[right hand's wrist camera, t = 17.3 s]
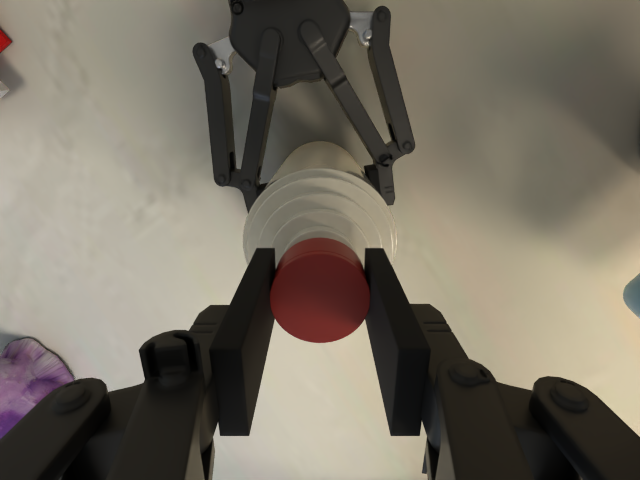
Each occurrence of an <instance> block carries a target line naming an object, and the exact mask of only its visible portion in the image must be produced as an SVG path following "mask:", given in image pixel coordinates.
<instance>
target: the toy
mask: <svg viewBox="0 0 640 480" xmlns="http://www.w3.org/2000/svg"><path fill="white" fill-rule="evenodd" d="M11 42H12V41H11V40H10V39H9V38H8V37H7V36H6V35H5V34H4V33H3V32H2V31H1V30H0V52H1V51H3V50H4V49H5V48H6V47H7V46H8V45H9V44H10V43H11ZM9 91H10V90H9V89H8V88H7V86H6V85H5V84H4V83H3V82H2V81H1V80H0V98H1V97H3V96H4V95H5V94H6V93H7V92H9Z"/></svg>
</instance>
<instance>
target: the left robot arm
mask: <svg viewBox="0 0 640 480" xmlns="http://www.w3.org/2000/svg"><path fill="white" fill-rule="evenodd" d="M228 1H229V6H230V10H231V26H230V30H229V36H228V37H226V38H223V39H221V40H218V41H216V42H214V43H211V44H209V45H206V44H204V43H197V44H196V45H195V46H194V47H193V56H194V58H195V60H196V63H197V65H198V67H199V70H200V72H201V74H202V77H203V79H204V82H205V92H206V102H207V112H208V123H209V133H210V143H211V153H212V163H213V173H214V180H215V182H216V184H217V185H219V186H231V187H236V188H238V189H240V190H241V191H242V193H243V195H244V199H245V203H246V207H247V211H248V214H249V211H250V209H251V207H252V206H253V204H254V202H255V201H256V199H257V198H258V197H259V195H260V194H261V192H262V191H263V190H264V188H265V187H266V186H267V184H268V183H264V184H261V185H260V183H259V181H260V179H261V178H260V174H261V169H262V163H263V158H264V153H265V148H266V142H267V137H268V132H269V127H270V121H271V116H272V111H273V106H274V102H275V99H276V94H277V89H278V87H279V88H286V87H291V86H293V85H294V84H296V83H298V82H308V83H312V82H317V81H320V80H321V79H324V81H325V82H326V84H327V86H328V87H329V89H330V90H331V92H332V93H333V95H334V96H335V98H336V100H337V101H338V103H339V105H340V106H341V108H342V110H343V111H344V113H345V114H346V116H347V118H348V119H349V121H350V123H351V124H352V126H353V128H354V129H355V131H356V133H357V134H358V136H359V138H360V139H361V141H362V142H363V144H364V146H365V147H366V149H367V151H368V152H369V154H370V156H371V157H372V159H373V164H372V165H367V166H364V169H365V175H366V176H367V178H368V179H369V180H370V182H371V183H372V184H373V186H374V187H375V188H376V190H377V191H378V193H379V194H380V195H381V197H382V198H383V199H384V201H385V202H386V204H387V206H388V205H393V203H394V200H395V193H394V183H393V174H392V165H393V163H394V161H395V160H396V159H398V158H400V157H401V156H403V155H405V154H409V153H411V152H412V151H413V150H414V148H415V142H414V138H413V134H412V130H411V126H410V123H409V119H408V115H407V111H406V107H405V104H404V100H403V96H402V92H401V88H400V85H399V81H398V77H397V73H396V69H395V66H394V62H393V58H392V54H391V50H390V47H389V38H390V21H391V14H390V11H389V9H388V8H387V7H385V6H380V7H378V8H376V9H375V11H374V12H350V11H349V9H348V7H347V5H346V4H345V3H344V1H343V0H228ZM348 31H351V32H353V33H355V34H356V36H357V40H358V43H359V45H360V46H361V47H363V48H367V52H368V59H369V63H370V67H371V71H372V74H373V78H374V81H375V85H376V88H377V92H378V95H379V99H380V102H381V106H382V109H383V113H384V116H385V120H386V123H387V127H388V130H389V134H390V137H391V141H390V142H388V143H387V144H385V143H384V141H383V140H382V138H381V136H380V135H379V133H378V131H377V130H376V128H375V126H374V124H373V123H372V121H371V119H370V118H369V116H368V114H367V112H366V111H365V109H364V107H363V106H362V104H361V102H360V101H359V99H358V97H357V95H356V94H355V92H354V90H353V89H352V87H351V85H350V83H349V82H348V80H347V78H346V75H345V73H344V72H343V70H342V68H341V67H340V65H339V63H338V61H337V60H336V57H337V55H338V52H339V50H340V48H341V46H342V43H343V41H344V39H345V37H346V34H347V32H348ZM237 53H238V54H239V55H240V56H241V57H242V58H243V59H244V60H245V61H246V62H247V63H248V64H249V65H250V66H251V67H252V68H253V69H254V70H255V71H256V76H255V82H254V88H253V102H252V108H251V114H250V120H249V126H248V131H247V137H246V143H245V149H244V155H243V161H242V167H241V169H236V158H235V145H234V131H233V118H232V105H231V92H230V84H229V80H228V76H227V75H229V74H230V73H231V72H232V69H233V65H232V59H233V56H234V55H235V54H237ZM623 299H624V302H625V303H626V305H627V306H628V308H629V309H630V310H631V311H632V312H633V313H634V314H636V315H637V316H638V317H639V318H640V274H638V275H637V276H636V277H635V278H634V279H633V280H632V281H630V282H629V283H628V284H627V285H626V287H625V288H624V292H623Z"/></svg>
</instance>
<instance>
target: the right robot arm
mask: <svg viewBox="0 0 640 480" xmlns="http://www.w3.org/2000/svg"><path fill="white" fill-rule="evenodd" d="M275 271H276V263H275V248H256V250H255V252H254V254H253V256H252V259H251V261H250V263H249V265H248V267H247V269H246V271H245V273H244V276H243V278H242V280H241V282H240V284H239V286H238V288H237V290H236V293H235V295H234V297H233V299H232V301H231V303H230V305H210V306H209V307H207V308H206V309H205V310H203V311H202V312H201V313H199V315H198V316H197V318H196V320H195V321H194V323H193V325H192V326H191V328H190V330H189V331H187V330H173V331H168V332H164V333H161V334H159V335H156V336H154V337H152V338H151V339H149V340H148V341H146V342H145V343H144V344H143V345H142V347H141V348H140V349H139V353H140V358H141V363H142V367H143V372H144V377H145V381H144V383H142V384H139V385H136V386H132V387H128V388H124V389H119V390H115V391H111V392H108V390H107V386H106V384H105V383H104V382H103V381H102V380H100V379H95V378H84V379H78V380H75V381H72V382H69V383H66V384H64V385H62V386H60V387H58V388H56V389H54V390H53V391H52V392H50V393H49V394H48V395H46V396H45V397H44V398H43V399H42V400H41V401H40V402H38V403H37V404H36V405H35V406H34V407H33V408H32V409H31V410H30V411H29V412H28V413H27V414H26V415H25V416H24V417H23V418H22V419H21V420H20V421H19V422H18V423H17V424H16V425H15V426H14V427H13V428H12V429H10V430H9V431H8V432H7V433H6V434H5V435H4V436H3V437H2V438H1V439H0V480H212V475H213V465H214V455H215V449H214V441H213V435H214V432H215V429H216V426H217V423H219V430H220V436H249V434H250V429H251V425H252V420H253V415H254V411H255V406H256V402H257V397H258V393H259V388H260V384H261V379H262V374H263V370H264V365H265V361H266V356H267V352H268V347H269V342H270V338H271V333H272V329H273V324H274V320H275V317H274V316H273V313H272V311H271V306H270V290H271V285H272V282H273V278H274V275H275ZM364 271H365V275H366V279H367V282H368V286H369V289H370V305H369V310H368V313H367V315H366V317H365V320H366V325H367V329H368V334H369V339H370V343H371V348H372V352H373V357H374V361H375V366H376V371H377V375H378V380H379V384H380V389H381V393H382V398H383V402H384V407H385V412H386V416H387V421H388V425H389V430H390V434H391V436H420V429H421V422H423V425H424V428H425V431H426V434H427V441H426V448H425V455H424V462H423V470H422V473H424V474H428V480H640V437H639V436H638V435H637V434H636V433H635V432H634V431H633V430H632V429H631V428H630V427H629V426H628V425H627V424H626V423H624V422H623V421H622V420H621V419H620V418H619V417H618V416H617V415H616V414H615V413H614V412H613V411H612V410H611V409H610V408H609V407H608V406H607V405H606V404H605V403H604V402H603V401H601V400H600V399H599V398H598V397H597V396H596V395H595V394H593V393H592V392H591V391H589V390H588V389H587V388H585V387H583V386H581V385H579V384H577V383H575V382H573V381H570V380H567V379H564V378H560V377H551V376H547V377H542V378H539V379H538V380H537V381H536V382H535V383H534V386H533V390H527V389H523V388H518V387H514V386H509V385H506V384H502V383H499V382H497V381H496V380H495V378H494V377H493V375H492V374H491V372H490V371H489V370H488V369H487V368H485V367H484V366H483V365H481V364H479V363H477V362H475V361H473V360H470V359H469V358H468V357H467V355H466V353H465V352H464V350H463V348H462V347H461V345H460V343H459V342H458V340H457V338H456V337H455V335H454V334H453V332H451V329H450V327H449V325H448V324H447V322H446V320H445V319H444V317H443V315H442V314H441V312H440V311H438V310H437V309H436V308H434V307H433V306H431V305H430V304H409V302H408V299H407V297H406V295H405V293H404V291H403V289H402V287H401V284H400V282H399V280H398V278H397V276H396V274H395V272H394V269H393V267H392V265H391V263H390V261H389V259H388V257H387V255H386V252H385V250H384V248H365V259H364Z"/></svg>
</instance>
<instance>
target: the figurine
mask: <svg viewBox="0 0 640 480" xmlns="http://www.w3.org/2000/svg"><path fill="white" fill-rule="evenodd" d="M72 381H74V378H73V376H72V375H71V374H70V372H69V371H68V369H67V368H66V366H65V365H64V363H63V362H62V361H61V360H60V359H59V358H58V356H56V355H54V354H53V353H52V352H50V351H48V350H46V349H45V348H44V347H42V346H41V345H40V344H39V343H38V342H36V341H35V340H34V339H29V338H25V339H21V340H17V341H16V340H15V341H13V342H11V343H9V344H8V345H7V346H5V349H4V351H3V353H2V355H1V356H0V439H1V438H2V437H3V436H4V435H5V434H6V433H7V432H8V431H9V430H10V429H12V428H13V427H14V426H15V425H16V424H17V423H18V422H19V421H20V420H21V419H22V418H23V417H24V416H25V415H26V414H27V413H28V412H29V411H30V410H31V409H32V408H33V407H34V406H35V405H36V404H37V403H38V402H40V401H41V400H42V399H43V398H44V397H45V396H46V395H48V394H49V393H50V392H52V391H53V390H54V389H56V388H58V387H60V386H62V385H64V384H66V383H69V382H72Z"/></svg>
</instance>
